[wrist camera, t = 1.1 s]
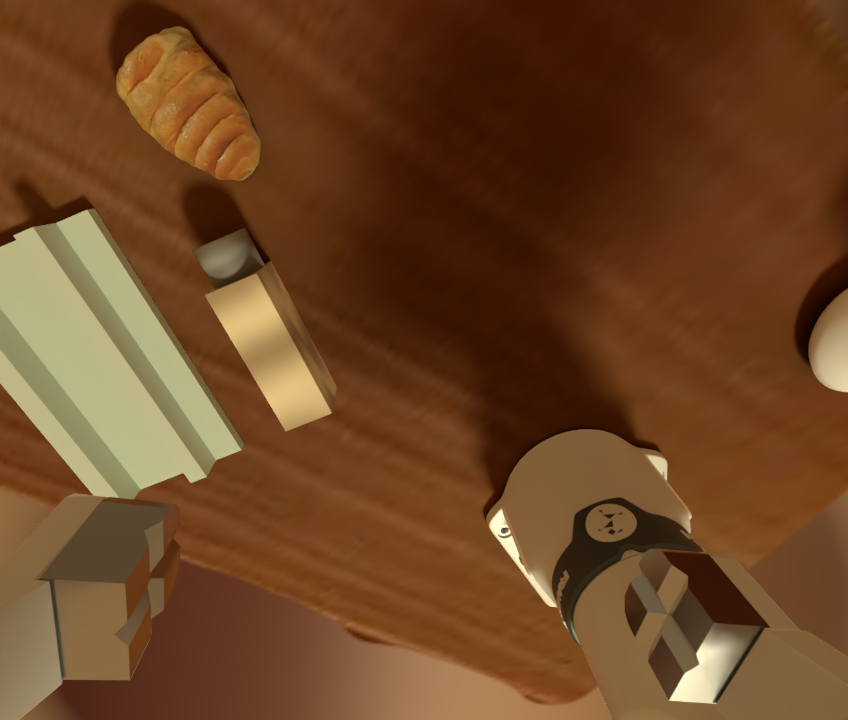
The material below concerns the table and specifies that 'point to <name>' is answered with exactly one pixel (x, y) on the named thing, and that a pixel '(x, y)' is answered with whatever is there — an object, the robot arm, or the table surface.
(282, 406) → the grey-capped wooden block
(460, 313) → the table surface
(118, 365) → the grooved moulding strip
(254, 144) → the pastry
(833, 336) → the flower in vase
